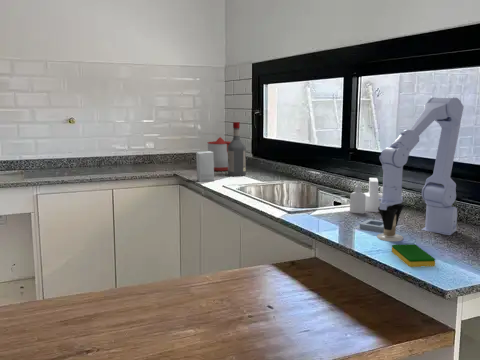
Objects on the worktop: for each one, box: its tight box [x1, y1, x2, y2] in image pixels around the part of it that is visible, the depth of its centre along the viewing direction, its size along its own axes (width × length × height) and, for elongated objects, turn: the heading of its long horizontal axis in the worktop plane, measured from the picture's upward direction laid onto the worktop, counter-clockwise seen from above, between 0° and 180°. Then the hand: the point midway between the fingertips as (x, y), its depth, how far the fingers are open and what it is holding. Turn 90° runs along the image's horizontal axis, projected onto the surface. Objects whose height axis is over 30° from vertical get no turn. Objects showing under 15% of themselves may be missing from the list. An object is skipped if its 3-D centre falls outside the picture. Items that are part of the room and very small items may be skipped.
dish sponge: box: [391, 243, 436, 268], centre depth 142 cm, size 7×14×2 cm, turn 3°
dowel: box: [384, 214, 397, 236], centre depth 160 cm, size 4×4×6 cm
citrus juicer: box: [207, 136, 231, 172], centre depth 306 cm, size 16×17×20 cm
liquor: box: [227, 121, 247, 178], centre depth 284 cm, size 9×9×30 cm
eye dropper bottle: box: [349, 182, 366, 214], centre depth 194 cm, size 4×6×12 cm
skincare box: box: [195, 150, 215, 183], centre depth 269 cm, size 8×7×16 cm
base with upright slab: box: [363, 177, 382, 213], centre depth 200 cm, size 9×9×12 cm
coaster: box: [376, 233, 404, 242], centre depth 160 cm, size 8×8×1 cm
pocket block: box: [353, 218, 398, 234], centre depth 172 cm, size 12×10×2 cm
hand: (390, 228), depth 160 cm, fingers closed on dowel, 3 cm apart
